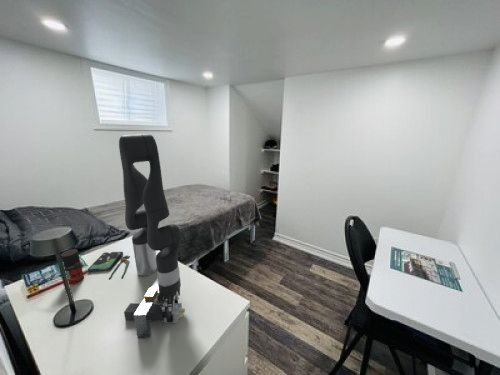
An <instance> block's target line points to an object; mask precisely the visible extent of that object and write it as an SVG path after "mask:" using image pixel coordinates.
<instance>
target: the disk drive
mask: <svg viewBox="0 0 500 375" xmlns="http://www.w3.org/2000/svg"><path fill="white" fill-rule="evenodd" d="M122 257H124V252H123V251H112V252H106V251H105V252H103V253H101V255H100V256H99V257H98V258H97V259H96V260H95V261H94V262H93V263H92V264H91V265H90V266H89V267H88V268H87V272H88V273H90V274H91V273H93V274H94V273H105V272H111V270H113V268H114V267H115V266H116V265H117V263H118V262H119V261H120V260H121V258H122Z"/></svg>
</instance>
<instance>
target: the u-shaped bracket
mask: <svg viewBox="0 0 500 375" xmlns="http://www.w3.org/2000/svg"><path fill="white" fill-rule="evenodd" d="M163 297H164V296H163V295H162V294H160V292H159V288H158V280H157V278H155V281H154V282H153V284H152V286H151V287H149V288H148V289H147V291H146V293H145V294H144V298H143V299H142V300H141V302H140V306H139V307H138V309H137V310H136V312H135V313H134V321H133V322H134V326H135V331H136V332H135V333H136V336H137V337H136V338H137V339H150V337H151V335H152V331H151V330H152V329H151V324H150V321H149V316H148V313H149V311H150V309H151V308H152V306H153V304H155V302H156V301H157V303H164V302H163Z"/></svg>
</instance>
